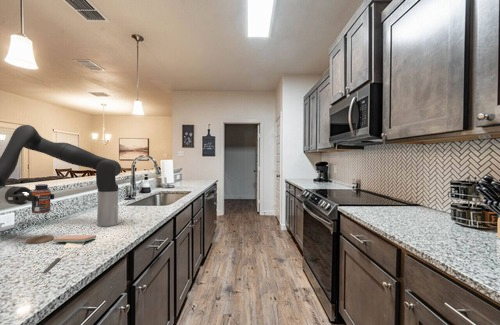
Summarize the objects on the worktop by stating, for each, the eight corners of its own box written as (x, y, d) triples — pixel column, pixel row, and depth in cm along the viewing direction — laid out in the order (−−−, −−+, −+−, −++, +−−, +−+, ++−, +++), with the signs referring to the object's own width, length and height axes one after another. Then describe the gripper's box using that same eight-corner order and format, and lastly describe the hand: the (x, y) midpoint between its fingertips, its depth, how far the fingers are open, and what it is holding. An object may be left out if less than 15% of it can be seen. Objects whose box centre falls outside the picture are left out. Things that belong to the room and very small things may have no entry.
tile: (53, 238, 103) (83, 238, 102) (68, 235, 110) (96, 235, 110) (53, 241, 102) (83, 241, 102) (68, 238, 110) (96, 238, 110)
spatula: (85, 243, 106) (85, 240, 106) (56, 274, 77) (56, 269, 77) (68, 244, 104) (68, 241, 104) (31, 276, 76) (31, 271, 76)
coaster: (57, 236, 112) (57, 234, 112) (49, 242, 104) (49, 240, 104) (31, 238, 109) (31, 236, 109) (21, 244, 101) (21, 242, 101)
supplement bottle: (39, 214, 103) (39, 186, 103) (27, 213, 105) (27, 185, 104) (54, 211, 109) (54, 184, 109) (42, 210, 110) (42, 183, 110)
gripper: (-6, 187, 103) (26, 190, 99) (32, 184, 117) (62, 186, 113) (-7, 206, 103) (26, 210, 99) (32, 201, 117) (62, 204, 113)
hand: (45, 197), depth 106 cm, fingers closed on supplement bottle, 6 cm apart
